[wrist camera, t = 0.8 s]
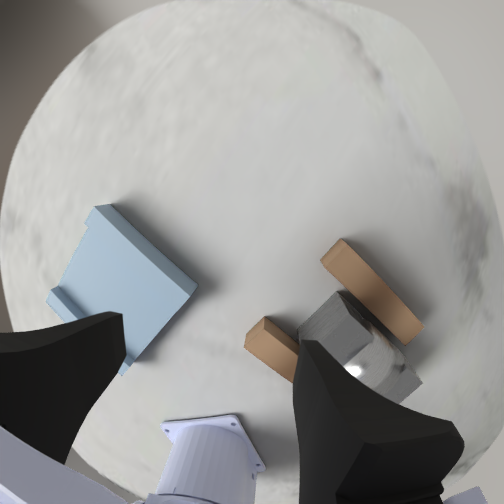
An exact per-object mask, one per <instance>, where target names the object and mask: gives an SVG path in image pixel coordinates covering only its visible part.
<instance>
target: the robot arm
mask: <svg viewBox="0 0 504 504" xmlns="http://www.w3.org/2000/svg"><path fill="white" fill-rule="evenodd" d="M126 356H127V353H126V344H125V335H124V324H123V314H122V313H117V312H112V311H107V312H102V313H98V314H95V315H91V316H88V317H85V318H82V319H78V320H75V321H72V322H68V323H65V324H61V325H57V326H53V327H49V328H45V329H39V330H33V331H26V332H12V333H0V504H128V503H127V501H125V500H124V499H122V498H121V497H119V496H118V495H116V494H115V493H113V492H112V491H110V490H109V489H107V488H106V487H105V486H103V485H101V484H99V483H97V482H95V481H93V480H92V479H90V478H88V477H86V476H84V475H82V474H81V473H79V472H77V471H75V470H73V469H71V468H68V467H67V466H65V465H64V464H65V462H66V459H67V456H68V454H69V451H70V449H71V446H72V444H73V442H74V440H75V437H76V435H77V433H78V431H79V429H80V427H81V425H82V423H83V421H84V420H85V418H86V416H87V414H88V412H89V411H90V409H91V408H92V406H93V405H94V404H95V402H96V401H97V400H98V398H99V397H100V396H101V394H102V393H103V392H104V390H105V389H106V388H107V386H108V385H109V384H110V382H111V381H112V380H113V378H114V377H115V376H116V374H117V373H118V371H119V369H120V368H121V366H122V364H123V362H124V360H125V358H126ZM293 407H294V414H295V421H296V428H297V435H298V442H299V452H300V491H299V504H488V503H487V501H486V499H485V497H484V495H483V493H482V491H481V489H480V487H474V488H472V489H469V490H467V491H464V492H462V493H459V494H457V495H454V496H452V497H450V498H448V499H446V500H445V501H443V502H442V500H441V498H440V494H442V493H443V492H444V488H443V486H442V483H441V481H442V480H443V479H444V478H445V476H446V475H447V474H448V473H449V472H450V470H451V469H452V468H453V467H454V466H455V464H456V463H457V461H458V460H459V458H460V457H461V455H462V453H463V450H464V447H465V446H464V440H463V439H462V437H461V435H460V434H459V432H458V431H457V429H456V427H455V426H454V424H453V423H452V421H447V420H443V419H439V418H435V417H431V416H428V415H424V414H421V413H419V412H416V411H413V410H411V409H408V408H406V407H403V406H401V405H399V404H397V403H395V402H393V401H391V400H389V399H387V398H385V397H383V396H382V395H380V394H378V393H377V392H375V391H374V390H372V389H371V388H369V387H368V386H366V385H365V384H363V383H362V382H361V381H359V380H358V379H357V378H356V377H354V376H353V375H352V374H351V373H350V372H349V371H347V370H346V369H345V368H344V367H343V366H342V365H341V364H340V363H339V362H338V361H337V360H336V359H335V358H334V357H333V356H332V355H331V354H330V353H329V352H328V351H327V350H326V349H325V348H324V347H323V346H322V345H321V344H320V343H319V342H318V341H317V340H304V339H301V344H300V350H299V355H298V360H297V364H296V369H295V374H294V379H293ZM160 427H161V429H162V430H163V431H164V433H165V434H166V435H167V437H168V438H169V440H170V441H171V442H172V444H173V447H172V449H171V452H170V455H169V457H168V460H167V462H166V465H165V468H164V470H163V473H162V476H161V478H160V481H159V484H158V486H157V489H156V492H155V494H151V493H149V494H148V497H147V499H146V502H143V501H141V500H138V501H135V502H134V503H132V504H254V502H255V491H256V478H257V472H263V471H265V470H266V466H265V465H264V463H263V461H262V460H261V458H260V456H259V455H258V453H257V451H256V450H255V448H254V446H253V444H252V443H251V441H250V439H249V437H248V436H247V434H246V432H245V430H244V429H243V427H242V425H241V423H240V421H239V419H238V418H237V416H235V415H225V416H218V417H210V418H202V419H193V420H182V421H170V422H162V423H161V425H160ZM167 429H168V430H167Z"/></svg>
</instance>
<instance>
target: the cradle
mask: <svg viewBox="0 0 504 504" xmlns="http://www.w3.org/2000/svg"><path fill="white" fill-rule="evenodd" d="M84 224H85V225H86V226H87V227H88V229H87V230H86V232H85V234H84V236H83V237H82V239H81V241H80V243H79V245H78V247H77V248H76V250H75V252H74V254H73V256H72V258H71V260H70V262H69V264H68V266H67V268H66V270H65V272H64V274H63V276H62V278H61V280H60V282H59V284H58V286H57V287H55V288H53V289H51V290H50V292H49V295H48V297H47V299H46V303H47V304H48V305H49V306H50V307H51V308H52V309H53V311H54V312H55V313H56V314H57V315H58V316H59V317H60V318H61V319H62V320H63V321H64V322H65V323H68V322H72V321H75V320H78V319H82V318H85V317H88V316H91V315H95V314H98V313H102V312H107V311H112V312H117V313H122V314H123V324H124V335H125V344H126V353H127V356H126V358H125V360H124V362H123V364H122V366H121V368H120V369H119V371H118V373H119V374H120V375H121V376H123V374H124V373H125V372H126V371H127V370H128V368H129V367H130V366H131V365H132V363H133V362H134V361H135V359H136V358H137V357H138V356H139V355H140V354H141V352H142V351H143V350H144V349H145V348H146V346H147V345H148V344H149V343H150V342H151V341H152V339H153V338H154V337H155V336H156V335H157V334H158V332H159V331H160V330H161V329H162V328H163V327H164V325H165V324H166V323H167V322H168V321H169V320H170V318H171V317H172V316H173V315H174V314H175V313H176V311H178V310H179V309H180V308H181V306H182V305H183V304H184V303H185V302H186V301H187V300H188V298H189V297H190V296H191V295H192V293H193V292H194V291H195V289H196V288H197V287H198V284H196V283H195V282H194V281H193V280H192V279H191V278H190V277H188V276H187V275H186V274H185V273H184V272H183V271H182V270H180V269H179V268H178V267H177V266H176V265H175V264H174V263H173V262H171V261H170V260H169V259H168V258H167V257H166V256H165V255H164V254H163V253H161V252H160V251H159V250H158V249H157V248H156V247H155V246H154V245H153V244H152V243H150V242H149V241H148V240H147V239H146V238H145V237H144V236H143V235H142V234H141V233H140V232H139V231H138V230H136V229H135V228H134V227H133V226H132V225H131V224H130V223H129V222H128V221H127V220H126V219H125V218H124V217H123V216H122V215H121V214H120V213H119V212H118V211H117V210H116V209H114V208H113V207H112V206H111V205H110V204H107V205H100V206H94V207H93V209H92V211H91V212H90V214H89V216H88V217H87V219H86V221H85V223H84Z"/></svg>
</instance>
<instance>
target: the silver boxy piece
mask: <svg viewBox="0 0 504 504" xmlns="http://www.w3.org/2000/svg"><path fill="white" fill-rule="evenodd" d="M297 331H298V337H299V344H301V339H304V340H317V341H318V342H319V343H320V344H321V345H322V346H323V347H324V348H325V349H326V350H327V351H328V352H329V353H330V354H331V355H332V356H333V357H334V358H335V359H336V360H337V361H338V362H339V363H340V364H341V365H342V366H343V367H344V368H345V369H346V370H347V371H349V372H350V373H351V374H352V375H353V376H354V377H356V378H357V379H358V380H359V381H361V382H362V383H363V384H365V385H366V386H368V387H369V388H371V389H372V390H374V391H375V392H377V393H378V394H380V395H382V396H383V397H385V398H387V399H389V400H391V401H393V402H395V403H397V404H399V403H400V402H402V401H403V400H404V399H405V398H406V397H408V396H409V395H410V394H411V393H412V392H413V391H415V390H416V389H417V388H418V387H419V386H420V385H421V384H422V381H421V380H420V378H419V377H418V375H417V374H416V372H415V371H414V369H413V368H412V366H411V365H410V363H409V362H408V360H407V359H406V358H405V356H404V355H403V354H402V352H401V351H400V350H399V349H398V348H397V347H396V346H395V345H394V344H393V343H392V342H391V341H390V340H389V339H387V338H386V337H385V336H384V335H383V334H382V333H381V332H380V331H379V330H378V329H377V328H376V327H375V326H374V325H373V324H372V323H371V322H370V321H369V320H367V319H363V318H362V316H361V315H360V313H359V312H358V311H357V310H356V309H355V308H354V307H353V306H352V305H351V304H350V303H349V302H348V301H347V300H346V299H344V298H343V297H342V296H341V295H340V294H339V293H338V292H337V291H336V292H335V293H334V294H333V295H332V296H331V297H330V298H329V299H328V300H327V301H326V302H325V303H324V304H323V305H322V306H321V307H320V308H319V309H318V310H317V311H316V312H315V313H314V314H313V315H312V316H311V317H310V318H309V319H308V320H307V321H306V322H305V323H303V324H302V325H301V326H300V327H299V328H298V329H297Z"/></svg>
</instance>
